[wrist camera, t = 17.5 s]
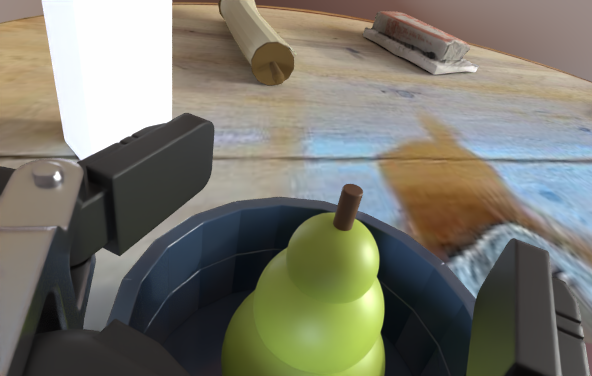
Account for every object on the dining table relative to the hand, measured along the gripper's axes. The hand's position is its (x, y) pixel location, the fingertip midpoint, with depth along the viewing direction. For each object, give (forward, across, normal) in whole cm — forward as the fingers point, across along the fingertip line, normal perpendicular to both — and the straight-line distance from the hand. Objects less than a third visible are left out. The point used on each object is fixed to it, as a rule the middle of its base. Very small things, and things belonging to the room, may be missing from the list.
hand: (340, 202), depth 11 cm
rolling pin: (+43, +26, +13) cm, 52 cm away
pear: (+1, 0, +12) cm, 12 cm away
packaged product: (+65, +6, +13) cm, 67 cm away
